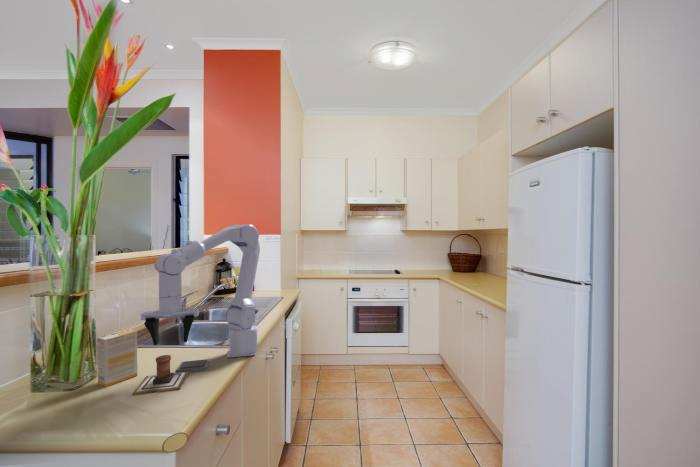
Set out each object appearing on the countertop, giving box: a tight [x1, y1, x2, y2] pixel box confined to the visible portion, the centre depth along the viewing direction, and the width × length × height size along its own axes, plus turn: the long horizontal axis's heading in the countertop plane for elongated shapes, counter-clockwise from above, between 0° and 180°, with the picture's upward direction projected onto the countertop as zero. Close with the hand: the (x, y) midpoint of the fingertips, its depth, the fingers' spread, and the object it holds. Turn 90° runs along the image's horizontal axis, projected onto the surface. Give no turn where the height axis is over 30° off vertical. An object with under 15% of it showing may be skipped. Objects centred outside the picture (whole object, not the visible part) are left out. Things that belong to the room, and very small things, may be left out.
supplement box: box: [96, 328, 138, 388], centre depth 91 cm, size 8×5×13 cm, turn 150°
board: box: [131, 372, 190, 396], centre depth 88 cm, size 11×10×1 cm
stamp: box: [153, 354, 175, 385], centre depth 89 cm, size 4×4×6 cm
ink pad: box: [175, 358, 210, 373], centre depth 98 cm, size 8×6×1 cm
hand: (171, 342), depth 92 cm, fingers open, 7 cm apart
